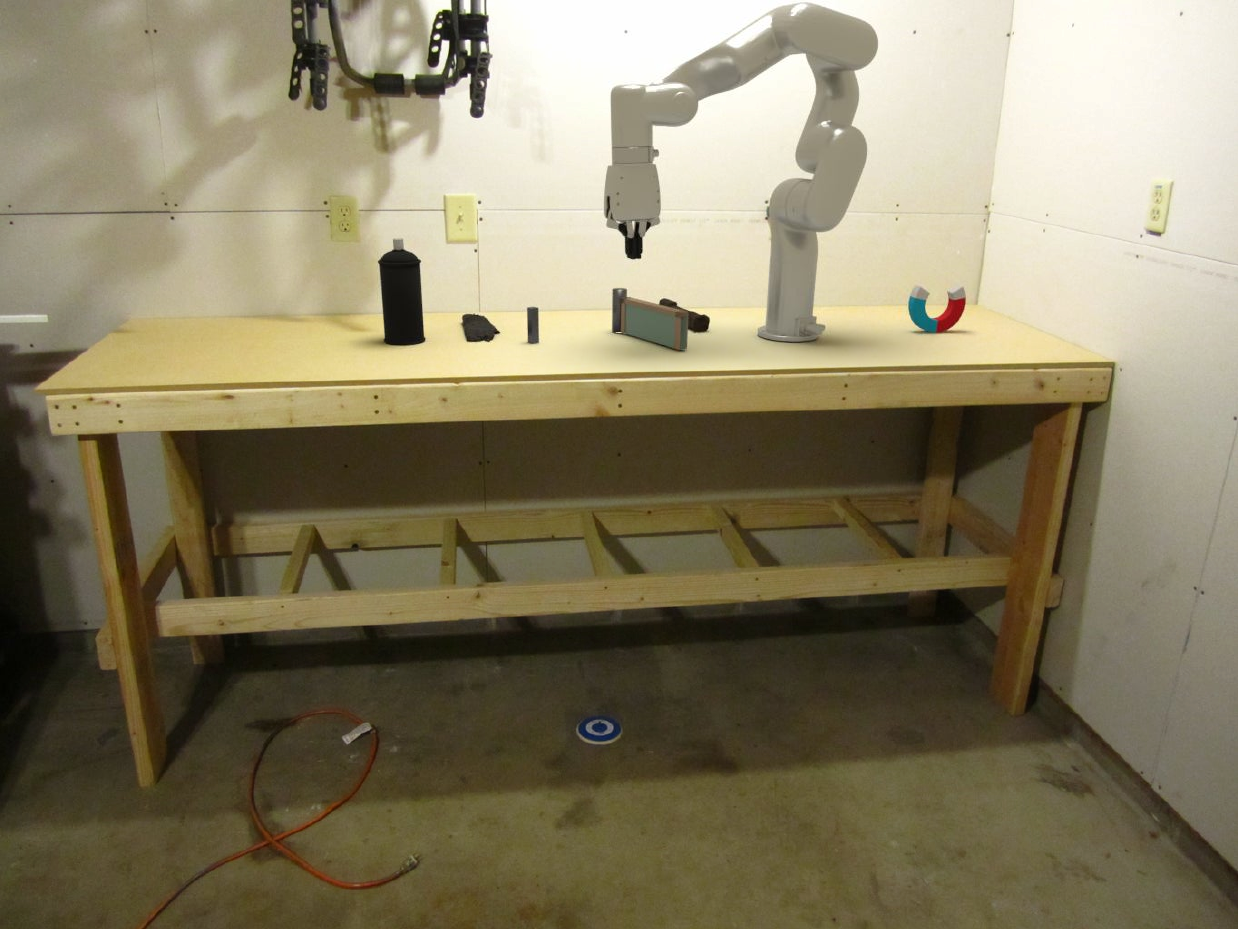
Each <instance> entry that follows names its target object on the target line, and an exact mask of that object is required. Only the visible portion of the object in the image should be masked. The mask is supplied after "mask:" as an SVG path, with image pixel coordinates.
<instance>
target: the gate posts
mask: <svg viewBox="0 0 1238 929" xmlns="http://www.w3.org/2000/svg"><path fill="white" fill-rule="evenodd" d="M611 294H612V295H611V296H612V298H611V299H612V302H611V303H612V306H611V308H612V313H611V322H612V323H611V333H613V332H621V298H625V297H628V289H627V288H624V287H623V288H622V287H616V288H615V287H614V288H612V293H611ZM526 317H527V318H526V319H527V320H526V322H527V329H526V330H527V343H530V344H539V343H540V337H539V336H540V334H539V332H540V329H539V326H540V325H539V322H540V321H539V307H536V306H529V307H526Z"/></svg>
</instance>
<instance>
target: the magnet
mask: <svg viewBox="0 0 1238 929" xmlns="http://www.w3.org/2000/svg"><path fill="white" fill-rule="evenodd" d="M946 293H947V297H948V299H947V300H948V302H947V306H946V308H945V310H944V311H943V312H942V313H941V315H939V316H937V317H930V316H929V315H928V314H927V310H926V309H927V308H926V304H927V300H928V299H929V298H928V297H929V295H930V292H929V291H927V289H925V288H923V287H922V286H921V285H919V284H915V285H914V287H913V288H912V289H911V292H910V295H909V298H908V306H907V309H908V314H909V316H910V319H911V321H912V323H913V324H914V325H915V326H917V328H919V329H921V330H923V331H925V332H927V333H931V334H939V333H940V334H941V333H943V332H946V331H948V330H950V329H952V328H953V327H954V326H955V325H956V324H957V323H958V322H959V321H960V319H961V317H962V316H963V314H964V311H965V307H966V304H967V303H966V302H967V300H966V299H967V298H966V297H967V296H966V290H965V287H964V286H963V285H961V284H956V285H954V286H953V287H951V288H949V289H948V290H947V291H946Z"/></svg>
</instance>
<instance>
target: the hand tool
mask: <svg viewBox="0 0 1238 929" xmlns="http://www.w3.org/2000/svg"><path fill="white" fill-rule="evenodd" d="M658 304H659V305H663V306H667V307H671V308H675V309H679V310H683V311H687V312H688V329H691V330H693V332H694V333H695V332H697V333H705V332H707V331H708V330H709V328H710V322H711V318H710V316H708V315H707V314H705V313H704V314H700V313H698V312H696V311H692V310H688V309H687V308H686V309H685V308H683V307H680V306H679V305H678V302H677V301H674V300H671V299H668V298H663V297H662V298H661V299H660V300H659V303H658Z"/></svg>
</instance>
